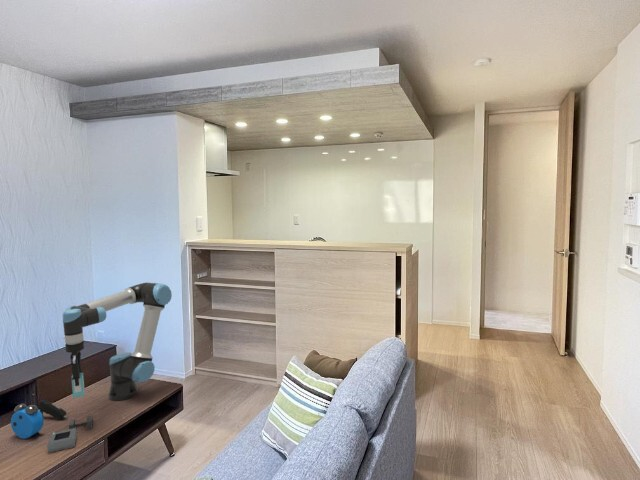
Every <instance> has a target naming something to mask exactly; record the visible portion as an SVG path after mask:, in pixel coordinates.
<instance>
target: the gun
mask: <svg viewBox="0 0 640 480" xmlns="http://www.w3.org/2000/svg"><path fill="white" fill-rule="evenodd" d="M38 406H39V408H40V409H39V411H40V412H41V414H42V416H43V417H44V413H45V414H47V415H49V416H51V417H53V418H54V419H56V420H57V421H63V420H65V419H67V418H68V416H67V411H66V410H64V409H63V408H61V407H59V406H58V405H57V404H55V403H54V402H52V401H50V400H47V399H41V400H40V401H39V403H38Z"/></svg>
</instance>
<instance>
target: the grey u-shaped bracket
mask: <svg viewBox="0 0 640 480" xmlns="http://www.w3.org/2000/svg"><path fill="white" fill-rule="evenodd" d="M86 417H87V418H86V421H83V422H77V423H76V418H73V419H72V418H71V419H70V420H69V422H68V425H67V426H68V429H73V428H77V427H80V426H84V425H86V430H87V431H89V430H92V429H93V425H94V424H93V423H94V420H93V419H94V418H93V415H87V416H86Z"/></svg>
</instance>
